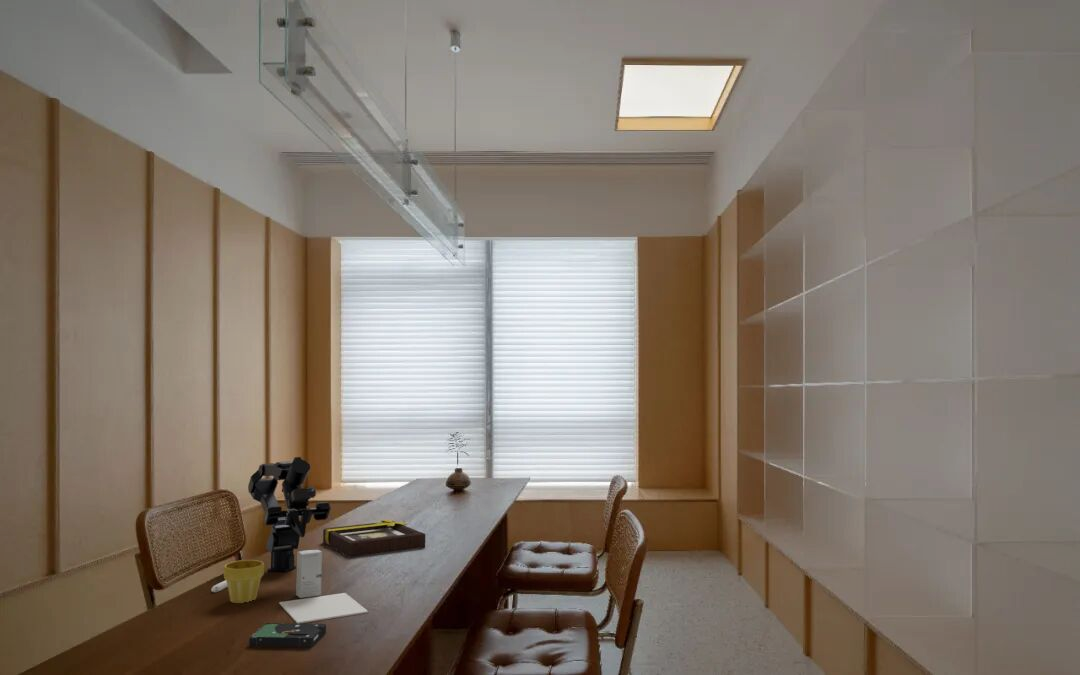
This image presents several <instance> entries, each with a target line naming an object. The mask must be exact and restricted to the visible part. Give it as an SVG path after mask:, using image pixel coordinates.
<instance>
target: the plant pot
mask: <svg viewBox="0 0 1080 675" xmlns="http://www.w3.org/2000/svg"><path fill="white" fill-rule="evenodd" d="M264 574H265V563H264V561H262V560H260V559H241V560H235V561H230V562H227V563H226V564H224V566H223V578H224V580H226V581H227V586H228V587H227V591H228V596H229V600H230V602H231V603H233V604H245V603H244V602H247V603H250V602H249V601H251V602H253V601H252V600H254V601H255V600H256V599H257V596H258V591H259V587H260V583H261V580H262V577H263V576H264Z"/></svg>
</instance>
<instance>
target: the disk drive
mask: <svg viewBox="0 0 1080 675" xmlns="http://www.w3.org/2000/svg"><path fill="white" fill-rule="evenodd" d="M326 634H327V624H326V623H300V624H299V623H296V622H295V623H291V622H290V623H289V622H288V623H285V622H283V623H282V622H266V623H263V625H261V626H260V627H259V628H258V629H257V630H256V631H255V632H254V633H253V634H252V635H249V638H248V647H262V648H263V647H264V648H265V647H267V648H268V647H269V648H271V647H272V648H273V647H274V648H277V647H278V648H313V647H314V646H315V645H316V644H317V643H318V642H319V641H320V640H321V639H322V638H323V637H324V635H326Z"/></svg>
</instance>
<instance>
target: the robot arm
mask: <svg viewBox="0 0 1080 675" xmlns="http://www.w3.org/2000/svg"><path fill="white" fill-rule="evenodd" d="M310 469H311V464H310V463H309V462H307V461H306V460H305V459H302V457H301V456H295V457H293V460H290V461H277V462H275V463H274V462H273V463H272V462H271V463H261V464H260V465H259V466H258V469H257V470H256V471H255V472H254V473H253V474H252V475H251V476H250V479H249V482H248V486H247V489H248V490H247V491H248V493H249V494H250V496H251V497H252V499H253V500H255V501H257V502H259V503H260V504H261V507H262V509H263V511H264V514H265V515H264V525H265V526H270V527H271V530H270V535H269V536H268V539H267V541H266V550H267V551H268V552H270V567H268V568H267V571H271V572H282V573H283V572H288V571H290V570H293V569H295V568H296V569H297V565H295V554H294V550H298V549H299V545H300V544H299V543H300V537H301V538H304V537H305V535H306V530H307V529H306V528H307V524H310V522H311V519H312V515H313V519H314V520H315V521H317V522H318V521H325V520H328V519H329V518H328V517H329V515H330V513H331V509H332V507H331V504H330V502H327V501H324V502H316V503H315V505H314V507H308V506H309V505H310V501H309V500H311V499H313V498H315V497H316V494H317V492H316V488H315V486H313V485H312V486H308V487H303V486H302V484H304V483H305V482H306V480H307V478H308V475H309V473H310ZM265 476H269V477H265ZM263 477H265V478H263ZM279 481H282V483H281V492H282V493H283V497H284V507H286V510H282V506H280V504H279V502H278V500H277V498H276V496H275V495H276V494H275V493H276V489H277V486H278V484H279Z"/></svg>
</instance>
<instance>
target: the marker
mask: <svg viewBox="0 0 1080 675" xmlns="http://www.w3.org/2000/svg"><path fill="white" fill-rule="evenodd" d="M226 588H227V589H228V586H227V581H226V579H224V580H223V581H221V582H219V583H216V584H215V585H213V586H212V587H211V592H212V593H217V592H220V591H222V590H225V589H226Z"/></svg>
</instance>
